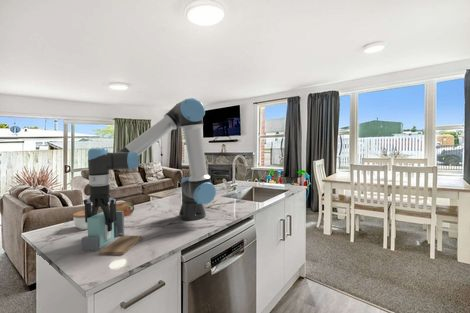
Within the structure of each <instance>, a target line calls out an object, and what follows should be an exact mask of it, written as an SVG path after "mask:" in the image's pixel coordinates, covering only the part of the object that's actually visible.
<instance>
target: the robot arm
mask: <svg viewBox="0 0 470 313" xmlns="http://www.w3.org/2000/svg"><path fill="white" fill-rule="evenodd" d="M205 115H206V109H205V106H204V104H203V103H202V101H200V100H199V99H198V98H193V97H189V98H185V99H183V100H182V101H180V102H178V103H176V104H175V105H174V106H173V107H172V108H171V109H170V110H169V111H167V112H166V113H164V115H163V117H162V118H161V119H160V120H159V121H158V122H156V123H155V124H154V125H152V126H151V127H150V128H148V129H147V130H145V131H144V132H143V133H141V134H139V136H137V137H136V138H134V139H133V140H132V141H131V142H129V143H128V144H126V145H125V146H123V147H122V148H121V149H120V150H119V151H116V152H110V151H109V149H108V148H98V147H97V148H90V149H88V150H87V168H88V169H87V170H88V184H89V189H88V192H89V193H88V194H89V195H90V196H89V198H86V199H83V201H82V202H83V206H84V210H85V222H86V223H87V218H89V217H92V216H94V215H96V214H97V213H99V208H101V210H102V211H103V213H104V216H105V220H106V224H105V240H108V239H109V238H111V230H112V223H113V222H115V221H116V204H117V198H112V197H111V196H110V193H111V191H110V190H111V189H110V171H113V170H114V171H115V170H132V169H138V167H139V159H140V157H139V156H140V155H141V154H143V153H144V152H146V151H147V150H148V149H149V148H150V147H152V146H154V144H155V143H157V142H158V141H159V140H161V139H162V138H163V137H165V136H166V135H168V133H171V131H173V130H177V129H179V128H181V129H182V130H183V131H184V138H185V139H184V140H185V147H186V151H187V160H188V167H189V173H190V176H188V177H182V178H181V182H180V185H181V186H180V190H181V206H180V210H179V212H178V217H179V219H180V220H183V221H195V220H196V221H197V220H202V219H204V218H205V217H206V215H207V214H206V213H207V212H206V210H205V205H208V204H210V203H211V202H212V201H214V199H215V197H216V194H217V190H216V186H215V185H214V184H213V183H212V177H211V175H210V174H208V169H207V162H206V157H205V149H204V142H203V135H202V134H203V133H202V127H204V122H203V121H204V119H203V118H204V116H205ZM109 206H110V211H109ZM91 210H92V212H91Z"/></svg>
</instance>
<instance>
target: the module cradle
mask: <svg viewBox="0 0 470 313" xmlns="http://www.w3.org/2000/svg"><path fill="white" fill-rule="evenodd" d="M101 212H103V210H102V211H101ZM125 233H126V232H125V217H124V211H116V221H115V222H114V238H117V237H119V236H123V235H126V234H125ZM100 249H101V247H100V243H99V236H88V235H87V236H83V237H81V251H82V250H85V251H84V252H86V250H88V251H89V250H91V251H93V252H94V251H95V252H97V251H99V250H100ZM88 251H87V252H88ZM91 251H90V252H91Z"/></svg>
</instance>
